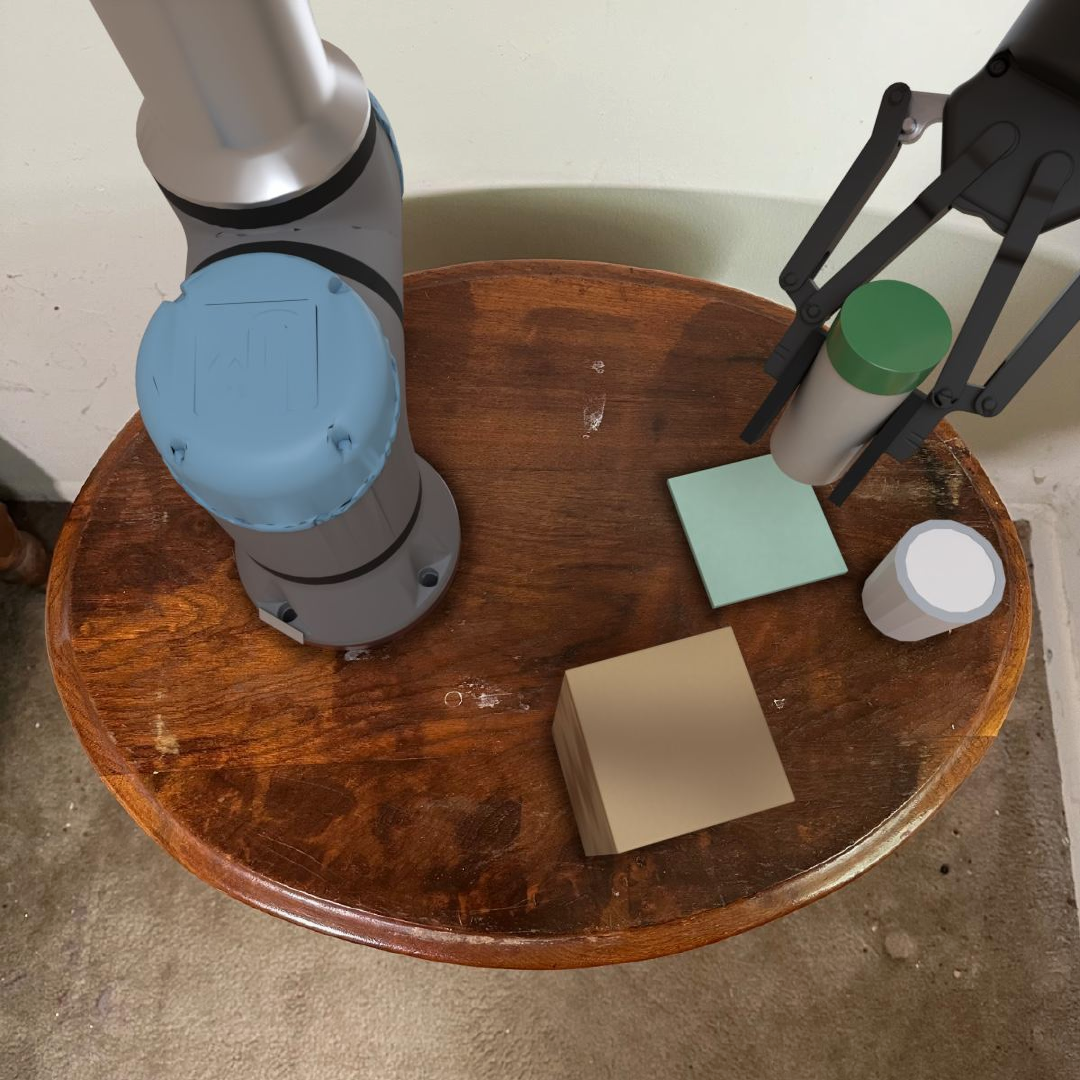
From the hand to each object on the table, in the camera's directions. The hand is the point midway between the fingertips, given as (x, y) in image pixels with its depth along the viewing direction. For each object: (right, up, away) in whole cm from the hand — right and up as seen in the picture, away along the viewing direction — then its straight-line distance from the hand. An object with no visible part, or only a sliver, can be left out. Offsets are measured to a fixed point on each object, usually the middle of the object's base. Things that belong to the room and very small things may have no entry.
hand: (793, 466), depth 44 cm
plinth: (-8, -19, +9) cm, 22 cm away
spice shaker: (+2, +1, +4) cm, 5 cm away
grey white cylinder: (+12, -8, +14) cm, 20 cm away
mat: (+2, -3, +16) cm, 16 cm away
